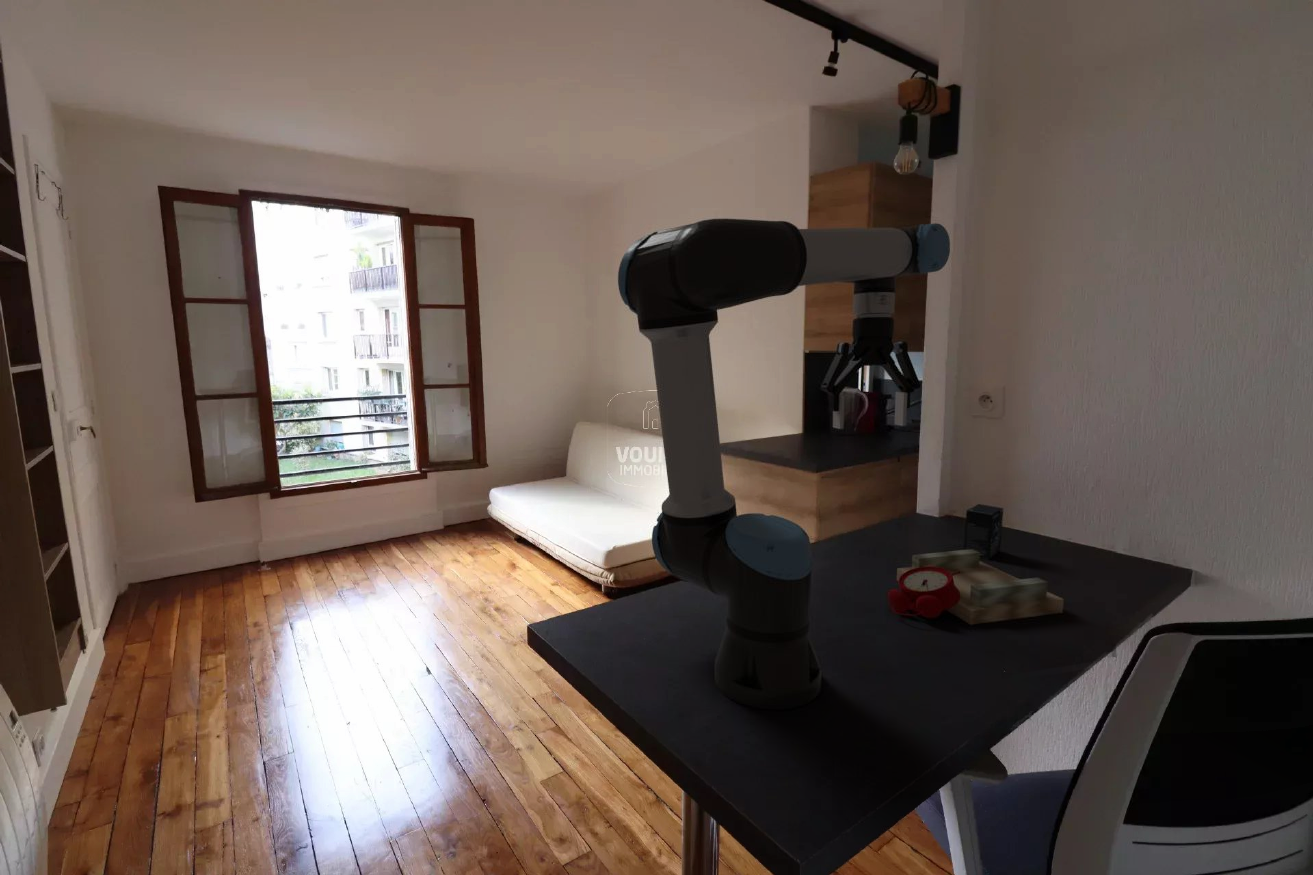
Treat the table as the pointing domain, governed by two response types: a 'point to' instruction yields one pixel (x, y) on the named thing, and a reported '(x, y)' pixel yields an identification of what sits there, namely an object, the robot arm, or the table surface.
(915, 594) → the alarm clock
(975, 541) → the box
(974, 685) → the table surface
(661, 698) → the table surface
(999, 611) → the display stand
